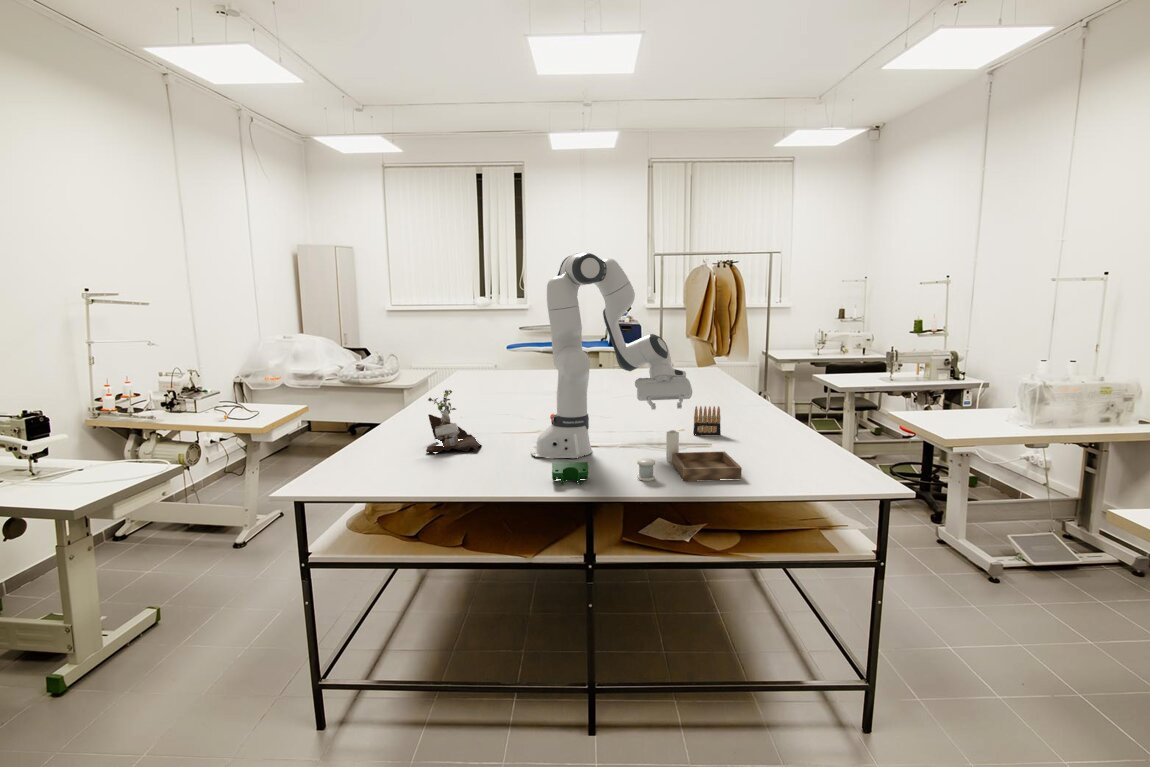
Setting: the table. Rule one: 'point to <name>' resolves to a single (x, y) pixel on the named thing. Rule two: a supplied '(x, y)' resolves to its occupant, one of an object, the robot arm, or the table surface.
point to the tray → (705, 466)
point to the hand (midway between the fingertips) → (666, 408)
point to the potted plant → (449, 430)
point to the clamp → (570, 471)
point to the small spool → (646, 469)
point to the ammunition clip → (707, 422)
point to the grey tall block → (671, 444)
